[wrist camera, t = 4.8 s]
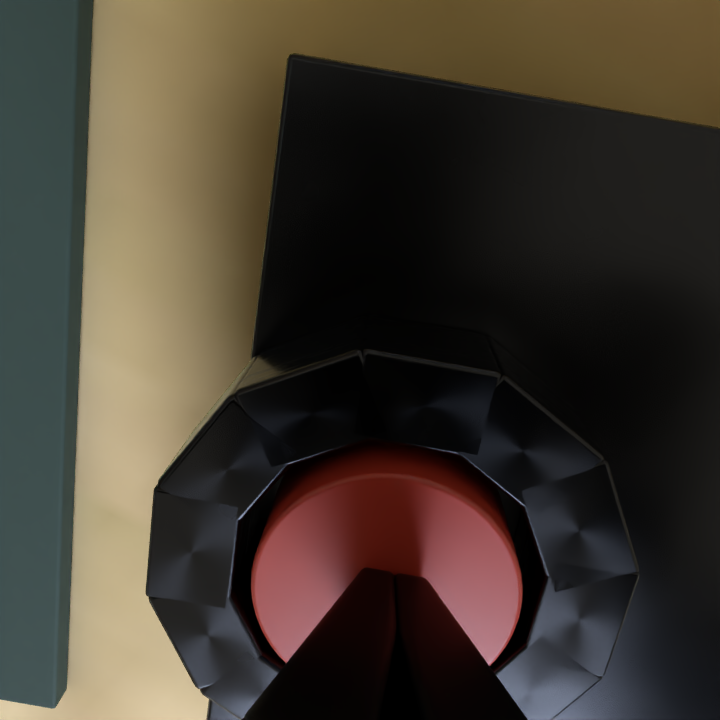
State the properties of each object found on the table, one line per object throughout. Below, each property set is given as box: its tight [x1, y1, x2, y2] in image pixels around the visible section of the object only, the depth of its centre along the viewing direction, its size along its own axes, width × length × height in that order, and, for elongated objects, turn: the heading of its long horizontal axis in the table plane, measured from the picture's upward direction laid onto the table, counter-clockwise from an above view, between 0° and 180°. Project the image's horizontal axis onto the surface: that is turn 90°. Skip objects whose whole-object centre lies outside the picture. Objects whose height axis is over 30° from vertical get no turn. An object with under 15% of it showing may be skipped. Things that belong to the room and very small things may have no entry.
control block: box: [146, 53, 720, 720], centre depth 11 cm, size 13×11×4 cm
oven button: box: [251, 440, 523, 666], centre depth 10 cm, size 4×4×2 cm
